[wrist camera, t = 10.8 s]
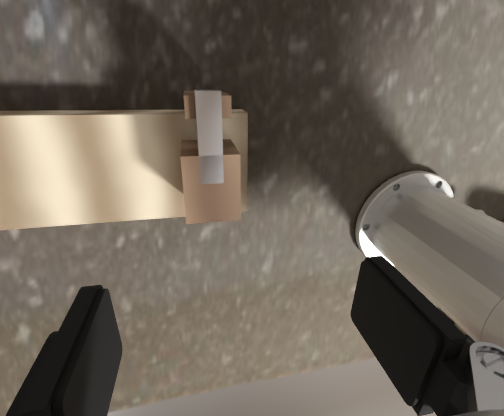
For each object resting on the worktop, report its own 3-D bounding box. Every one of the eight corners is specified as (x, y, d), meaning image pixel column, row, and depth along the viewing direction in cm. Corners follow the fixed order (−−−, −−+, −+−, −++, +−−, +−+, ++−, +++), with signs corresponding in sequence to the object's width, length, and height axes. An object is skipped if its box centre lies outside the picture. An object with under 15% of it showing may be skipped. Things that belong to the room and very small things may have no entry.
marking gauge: (228, 86, 23) (240, 91, 18) (230, 190, 27) (240, 219, 22) (177, 86, 23) (174, 90, 17) (186, 193, 26) (186, 223, 21)
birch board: (241, 109, 26) (248, 113, 24) (241, 199, 30) (247, 212, 28) (-71, 111, 22) (-107, 116, 19) (-24, 216, 26) (-50, 234, 23)
